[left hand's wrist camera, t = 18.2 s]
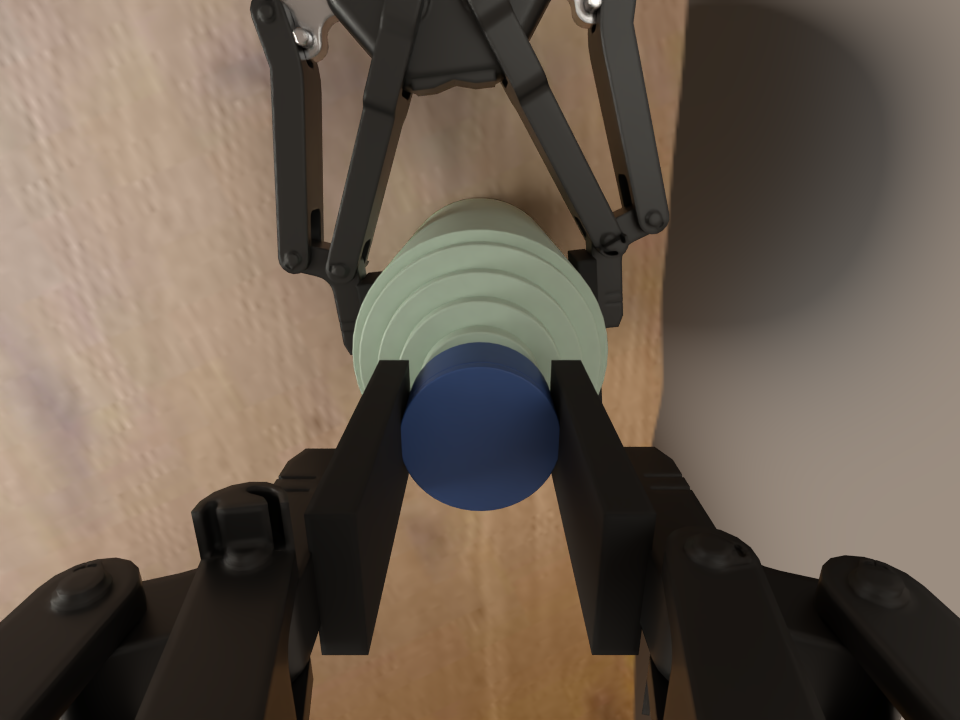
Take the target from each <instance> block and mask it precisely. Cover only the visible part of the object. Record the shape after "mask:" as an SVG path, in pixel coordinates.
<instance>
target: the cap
mask: <svg viewBox="0 0 960 720" xmlns="http://www.w3.org/2000/svg"><path fill="white" fill-rule="evenodd" d="M559 430H560V423H559V419H558V416H557V413H556V409H555V406H554V403H553V399H552V396H551V393H550V390H549V387H548V384H547V382H546V380H545V378H544V376H543V375H542V373H541V372H540V370H539V369H538V368H537V367H536V366H535V365H534V363H533V362H532V361H530V360H529V359H528V358H527V357H525V356H524V355H522V354H521V353H519V352H518V351H516V350H513V349H511V348H509V347H506V346H503V345H500V344H495V343H489V342H473V343H466V344H461V345H457V346H454V347H451V348H449V349H447V350H445V351H443V352H441V353H440V354H438V355H437V356H435V357H434V358H433V359H431V360H430V361H429V362H428V363H427V364H426V365H425V366H424V367H423V368H422V370H421V371H420V372H419V374H418V375H417V377H416V379H415V381H414V383H413V385H412V388H411V391H410V394H409V398H408V401H407V405H406V408H405V411H404V415H403V418H402V421H401V442H402V458H403V462H404V464H405V466H406V468H407V470H408V472H409V474H410V475H411V477H412V478H413V480H414V481H415V482H416V483H417V484H418V485H419V486H420V487H421V488H422V489H423V490H424V491H425V492H426V493H428V494H429V495H430V496H432V497H433V498H435V499H437V500H439V501H440V502H442V503H445V504H447V505H450V506H452V507H456V508H460V509H465V510H471V511H488V510H496V509H501V508H504V507H508V506H511V505H513V504H516V503H518V502H520V501H522V500H524V499H525V498H527V497H529V496H530V495H531V494H533V493H534V492H535V491H537V490H538V489H539V488H540V487H541V486H542V485H543V484H544V483H545V481H546V480H547V479H548V477H549V476H550V474H551V473H552V471H553V469H554V468H555V465H556V463H557V460H558V448H559Z"/></svg>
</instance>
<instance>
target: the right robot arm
mask: <svg viewBox="0 0 960 720" xmlns="http://www.w3.org/2000/svg"><path fill="white" fill-rule="evenodd" d="M550 1H551V0H252V1H251V7H250V11H251V17H252V20H253V22H254V25H255V28H256V31H257V33H258V36H259V39H260V42H261V45H262V47H263V50H264V53H265V56H266V58H267V61H268V64H269V67H270V79H271V102H272V125H273V148H274V171H275V194H276V218H277V241H278V259H279V263H280V265H281V267H282V268H283V269H284V270H285V271H287V272H288V273H292V274H298V273H305V274H309V275H313V276H317V277H320V278H323V279H324V280H326V281H327V282H328V283H329V284H330V286H331V288H332V290H333V293H334V298H335V303H336V308H337V313H338V318H339V322H340V327H341V331H342V337H343V342H344V345H345V347H346V348H347V350H348V352H349V353H350V355H353V353H352V351H353V335H354V329H355V324H356V320H357V317H358V314H359V311H360V308H361V305H362V303H363V301H364V299H365V297H366V295H367V293H368V291H369V289H370V288H371V287H372V285H373V284H374V282H375V281H376V279H377V278H378V277H379V275H380V274H381V273H382V272H383V271H381V272H372V273H368V274H367V275H366V270H365V267H366V266H367V265H368V263H369V261H367V259H368V255H369V251H370V247H371V243H372V240H373V236H374V232H375V228H376V224H377V220H378V217H379V213H380V209H381V205H382V201H383V198H384V194H385V190H386V186H387V182H388V179H389V175H390V171H391V167H392V163H393V159H394V156H395V152H396V148H397V144H398V140H399V137H400V133H401V129H402V125H403V122H404V120H405V118H406V115H407V112H408V109H409V105H410V101H411V97H412V94H413V93H414V94H417V95H418V96H424V95H433V94H438V93H440V92H443V91H445V90H447V89H450V88H452V87H454V86H460V87H466V88H472V89H482V88H490V87H495V84H497V83H499V82H501V84H502V86H503V88H504V90H505V92H506V94H507V95H508V97H509V99H510V101H511V103H512V104H513V106H514V107H515V109H516V110H517V112H518V114H519V116H520V118H521V120H522V121H523V123H524V125H525V127H526V129H527V131H528V133H529V135H530V137H531V139H532V140H533V142H534V144H535V146H536V148H537V150H538V152H539V154H540V156H541V157H542V159H543V161H544V163H545V165H546V167H547V169H548V171H549V173H550V174H551V176H552V178H553V180H554V182H555V184H556V186H557V188H558V190H559V192H560V193H561V195H562V197H563V199H564V201H565V203H566V205H567V207H568V209H569V210H570V212H571V214H572V216H573V218H574V220H575V222H576V224H577V226H578V227H579V229H580V231H581V233H582V235H583V237H584V239H585V240H586V250H585V249H580V250H571V251H568V261H569V262H570V263H571V264H572V265H573V267H574V268H575V269H576V270H577V271H578V273H579V274H580V275H581V276H582V278H583V279H584V280H585V282H586V283H587V285H588V286H589V287H590V289H591V291H592V293H593V294H594V296H595V298H596V300H597V302H598V304H599V307H600V310H601V313H602V315H603V318H604V323H605V328H610V327H619V324H620V321H621V319H622V316H623V303H622V301H623V297H622V255H623V254H624V253H625V252H626V250H627V248H628V245H629V244H631V243H632V242H634V241H636V240H638V239H640V238H642V237H644V236H646V235H648V234H657V233H659V232H661V231H663V230H664V228H665V227H666V226H667V224H668V222H669V211H668V205H667V200H666V195H665V189H664V184H663V179H662V173H661V168H660V163H659V157H658V152H657V147H656V141H655V136H654V131H653V125H652V120H651V115H650V109H649V104H648V99H647V93H646V88H645V83H644V77H643V72H642V67H641V61H640V56H639V51H638V46H637V40H636V35H635V30H634V24H633V21H634V13H635V5H636V0H568V2H569V4H570V6H571V12H572V18H573V20H574V22H575V23H576V24H577V25H578V26H579V27H581V28H585V29H588V47H589V54H590V60H591V65H592V69H593V74H594V79H595V83H596V88H597V92H598V97H599V102H600V106H601V111H602V116H603V120H604V125H605V130H606V134H607V139H608V144H609V148H610V153H611V158H612V162H613V167H614V172H615V176H616V181H617V185H618V190H619V195H620V199H621V204H622V208H621V209H619V210H616V211H614V212H612V210H611V208H610V206H609V204H608V202H607V200H606V199H605V197H604V195H603V193H602V191H601V189H600V187H599V185H598V183H597V181H596V179H595V177H594V175H593V173H592V171H591V169H590V167H589V165H588V163H587V161H586V159H585V157H584V155H583V153H582V151H581V149H580V147H579V145H578V143H577V141H576V139H575V137H574V135H573V133H572V131H571V129H570V127H569V125H568V123H567V121H566V119H565V117H564V115H563V113H562V111H561V109H560V107H559V105H558V103H557V101H556V99H555V97H554V95H553V93H552V91H551V89H550V87H549V85H548V81H547V78H546V75H545V73H544V71H543V68H542V66H541V64H540V62H539V60H538V58H537V56H536V54H535V52H534V50H533V48H532V46H531V44H530V42H529V41H530V39H531V37H532V35H533V33H534V31H535V29H536V27H537V25H538V24H539V22H540V20H541V18H542V16H543V14H544V12H545V10H546V8H547V6H548V5H549V3H550ZM338 21H340V22H341V23H342V25H343V26H344V27H345V28H346V29H347V30H348V32H349V33H350V34H351V35H352V36H353V37H354V38H355V40H356V41H357V42H358V43H359V44H360V45H361V47H362V48H363V49H364V50H365V51H366V52H367V53H368V55H369V56H370V57H371V58H372V61H371V65H370V69H369V73H368V78H367V82H366V86H365V90H364V96H363V111H362V116H361V120H360V124H359V128H358V133H357V137H356V141H355V145H354V149H353V154H352V158H351V162H350V166H349V170H348V175H347V179H346V183H345V187H344V191H343V196H342V200H341V204H340V208H339V213H338V217H337V221H336V225H335V229H334V234H333V238H332V242H331V243H327V242H324V227H323V160H322V93H321V80H320V74H319V68H318V64H317V62H319V61H321V60H323V59H324V57H325V56H326V54H327V52H328V32H329V30H330V28H331V26H332V25H333V24H334V23H336V22H338ZM598 396H599V398H600V400H601V402H602V388H601V389H600V392H599V395H598Z"/></svg>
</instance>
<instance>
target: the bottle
mask: <svg viewBox="0 0 960 720" xmlns="http://www.w3.org/2000/svg"><path fill="white" fill-rule="evenodd" d="M473 342H489V343H495V344H500V345H503V346H506V347H509V348H511V349H513V350H516V351H518V352H519V353H521V354H522V355H524V356H525V357H527V358H528V359H529V360H530V361H532V362H533V363H534V365H535V366H536V367H537V368H538V369H539V370H540V372H541V373H542V375H543V376H544V378H545V380H546V382H547V384H548V387H549V390H550V379H551V360H581V361H582V363H583V365H584V367H585V370H586V372H587V374H588V376H589V378H590V380H591V382H592V384H593V386H594V388H595V390H596V392H597V394H598V395H599V392H600V389H601V386H602V384H603V381H604V376H605V371H606V367H607V355H608V344H607V332H606V328H605V323H604V318H603V315H602V313H601V310H600V307H599V304H598V302H597V300H596V298H595V296H594V294H593V293H592V291H591V289H590V287H589V286H588V285H587V283H586V282H585V280H584V279H583V278H582V276H581V275H580V274H579V273H578V271H577V270H576V269H575V268H574V267H573V265H572V264H571V263H570V262H569V261H568V260H567V258H566V257H565V256H564V255H563V254H562V252H561V251H560V250H559V249H558V248H557V247H556V245H555V244H554V243H553V242H552V241H551V239H550V238H549V237H548V236H547V235H546V234H545V232H544V231H543V230H542V229H541V228H540V226H539V225H538V224H537V223H536V222H535V221H534V220H533V219H532V218H531V217H530V216H529V215H527V214H526V213H525V212H523V211H522V210H520V209H518V208H517V207H515V206H513V205H511V204H508V203H506V202H503V201H499V200H495V199H488V198H472V199H465V200H461V201H458V202H454V203H452V204H450V205H447V206H445V207H443V208H442V209H440V210H438V211H437V212H435V213H434V214H433V215H432V216H430V217H429V218H428V219H427V220H426V221H425V222H424V223H423V224H422V225H421V227H420V228H419V229H418V230H417V231H416V233H415V234H414V235H413V236H412V237H411V238H410V240H409V241H408V242H407V243H406V244H405V246H404V247H403V248H402V249H401V250H400V252H399V253H398V254H397V255H396V256H395V258H394V259H393V260H392V261H391V262H390V263H389V265H388V266H387V267H386V268H385V269H384V271H383V272H382V273H381V274H380V275H379V277H378V278H377V279H376V281H375V282H374V284H373V285H372V287H371V288H370V289H369V291H368V293H367V295H366V297H365V299H364V301H363V303H362V305H361V308H360V311H359V314H358V317H357V320H356V324H355V329H354V335H353V351H352V353H353V363H354V370H355V375H356V379H357V383H358V386H359V388H360V391H361V394H362V395H363V393H364V391H365V389H366V387H367V384H368V382H369V380H370V378H371V376H372V374H373V372H374V370H375V368H376V366H377V364H378V362H379V360H409V371H410V391H411V388H412V385H413V383H414V381H415V379H416V377H417V375H418V374H419V372H420V371H421V370H422V368H423V367H424V366H425V365H426V364H427V363H428V362H429V361H430V360H431V359H433V358H434V357H435V356H437V355H438V354H440V353H441V352H443V351H445V350H447V349H449V348H451V347H454V346H457V345H461V344H466V343H473Z"/></svg>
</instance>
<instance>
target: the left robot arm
mask: <svg viewBox="0 0 960 720" xmlns="http://www.w3.org/2000/svg"><path fill="white" fill-rule="evenodd" d="M550 393H551V396H552V399H553V403H554V406H555V409H556V413H557V416H558V419H559V423H560V430H559V448H558V460H557V463H556V465H555V468H554V469H553V471H552V473H551V474H552V478H553V483H554V487H555V491H556V496H557V500H558V505H559V509H560V514H561V518H562V523H563V527H564V532H565V536H566V541H567V545H568V550H569V554H570V559H571V563H572V567H573V572H574V576H575V581H576V585H577V590H578V594H579V599H580V603H581V608H582V612H583V617H584V621H585V626H586V630H587V635H588V639H589V644H590V648H591V652H592V655H638V654H639V647H640V639H641V631H643V633H644V636H645V639H646V642H647V645H648V648H649V651H650V659H649V666H648V674H647V681H646V688H645V695H644V702H643V710H642V714H644V715H649V713H651V720H900V719H901V716H902V717H903V718H904V719H905V720H960V618H959V617H958V616H957V615H955V614H954V613H953V612H952V611H951V610H950V609H949V608H948V607H947V606H945V605H944V604H943V603H942V602H941V601H940V600H939V599H938V598H937V597H936V596H934V595H933V594H932V593H931V592H930V591H929V590H928V589H927V588H926V587H924V586H923V585H922V584H920V583H919V582H918V581H916V580H915V579H913V578H912V577H911V576H909V575H908V574H907V573H905V572H903V571H901V570H898V569H896V568H894V567H892V566H890V565H888V564H886V563H883V562H880V561H877V560H873V559H870V558H866V557H858V556H847V555H844V556H839V557H834V558H830V559H829V560H828V561H827V562H826V563H825V564H824V565H823V566H822V570H821V573H820V577H819V579H816V578H811V577H806V576H802V575H797V574H792V573H788V572H783V571H779V570H776V569H772V568H768V567H765V566H763V565H761V563H760V560H759V558H758V557H757V556H756V554H755V553H754V551H753V550H752V549H751V547H749V546H748V545H747V544H745V543H744V542H743V541H741V540H740V539H739V538H737V537H735V536H733V535H731V534H728V533H726V532H724V531H722V530H718V529H716V527H715V526H714V524H713V523H712V521H711V520H710V518H709V516H708V515H707V513H706V512H705V510H704V509H703V507H702V505H701V504H700V502H699V501H698V499H697V498H696V496H695V494H694V493H693V491H692V490H690V486H689V485H688V483H687V482H686V480H685V478H684V477H682V474H681V472H680V471H679V469H678V467H677V466H676V464H675V463H674V461H673V460H672V459H671V458H670V457H668V456H667V455H665V454H664V453H663V452H661V451H660V450H658V449H657V448H655V447H623V445H622V443H621V441H620V439H619V437H618V435H617V433H616V431H615V428H614V426H613V424H612V422H611V420H610V418H609V416H608V414H607V412H606V410H605V408H604V406H603V404H602V402H601V400H600V398H599V396H598V394H597V392H596V390H595V388H594V386H593V384H592V382H591V380H590V378H589V376H588V374H587V372H586V370H585V367H584V365H583V363H582V361H581V360H551V379H550ZM409 394H410V371H409V360H379V362H378V364H377V366H376V368H375V370H374V372H373V374H372V376H371V378H370V380H369V382H368V384H367V387H366V389H365V391H364V393H363V395H362V397H361V399H360V401H359V403H358V405H357V407H356V409H355V411H354V413H353V415H352V417H351V419H350V421H349V423H348V425H347V427H346V429H345V431H344V433H343V435H342V437H341V439H340V441H339V443H338V446H337V448H336V449H305V450H303V451H302V452H301V453H299V454H298V455H296V456H295V457H294V458H292V459H291V460H289V461H288V462H287V464H286V465H285V467H284V469H283V470H282V472H281V473H280V475H279V479H277V480H276V481H275V483H274V484H271V483H268V482H247V483H242V484H236V485H231V486H229V487H226V488H224V489H221V490H218V491H216V492H214V493H212V494H211V495H209V496H207V497H206V498H204V499H203V500H201V501H200V502H199V503H198V504H197V505H196V507H195V508H194V509H193V510H192V511H191V514H192V519H193V524H194V528H195V533H196V538H197V543H198V547H199V552H200V557H201V561H200V564H199V566H198V568H197V569H193V570H190V571H186V572H183V573H179V574H174V575H170V576H165V577H160V578H156V579H151V580H146V581H142V579H141V576H140V572H139V568H138V567H137V566H136V565H135V564H134V563H133V562H131V561H130V560H125V559H120V558H107V559H97V560H93V561H89V562H87V563H82V564H79V565H76V566H74V567H72V568H70V569H68V570H66V571H64V572H62V573H60V574H58V575H55V576H54V577H53V578H51V579H50V580H48V581H47V582H46V583H44V584H43V585H42V586H40V587H39V588H37V589H36V590H35V591H34V592H33V593H32V594H31V595H30V596H29V597H28V598H26V599H25V600H24V601H23V602H22V603H21V604H20V605H19V606H18V607H17V608H15V609H14V610H13V611H12V612H11V613H10V614H9V615H8V616H7V617H6V618H5V619H3V620H2V621H1V622H0V720H309V714H310V705H311V696H312V686H313V674H312V666H311V659H310V655H311V652H312V649H313V646H314V643H315V640H316V637H317V634H318V631H319V636H320V644H321V652H322V655H368V654H369V650H370V645H371V641H372V636H373V632H374V627H375V623H376V618H377V614H378V609H379V605H380V600H381V596H382V591H383V587H384V582H385V578H386V573H387V569H388V565H389V560H390V556H391V551H392V547H393V542H394V538H395V533H396V529H397V524H398V520H399V515H400V511H401V506H402V502H403V497H404V493H405V488H406V484H407V480H408V475H409V472H408V470H407V468H406V466H405V464H404V462H403V458H402V442H401V421H402V418H403V415H404V411H405V408H406V405H407V401H408V398H409Z"/></svg>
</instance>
